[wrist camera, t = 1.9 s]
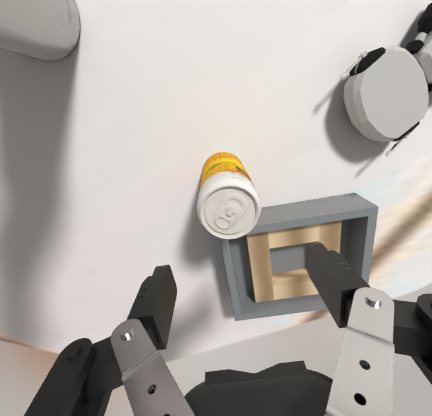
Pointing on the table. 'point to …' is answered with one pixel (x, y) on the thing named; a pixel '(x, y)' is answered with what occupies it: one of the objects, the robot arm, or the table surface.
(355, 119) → the robot toy
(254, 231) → the open-top box
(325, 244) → the plate
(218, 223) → the beer can
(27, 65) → the table surface
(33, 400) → the robot arm
